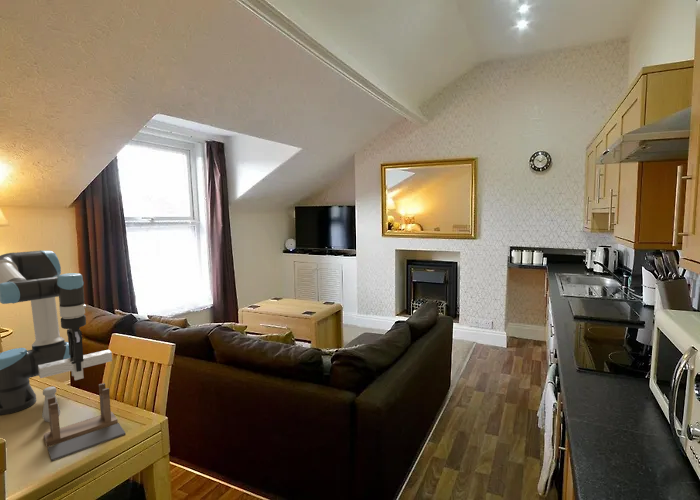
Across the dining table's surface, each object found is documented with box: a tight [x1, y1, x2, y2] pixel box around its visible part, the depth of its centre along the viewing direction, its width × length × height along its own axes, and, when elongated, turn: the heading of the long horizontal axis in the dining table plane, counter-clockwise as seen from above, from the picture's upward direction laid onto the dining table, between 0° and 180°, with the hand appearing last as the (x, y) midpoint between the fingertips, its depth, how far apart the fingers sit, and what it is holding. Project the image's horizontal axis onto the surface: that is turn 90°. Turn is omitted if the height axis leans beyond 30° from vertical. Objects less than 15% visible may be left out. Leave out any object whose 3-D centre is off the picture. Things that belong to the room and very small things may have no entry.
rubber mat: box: [47, 422, 127, 462], centre depth 140 cm, size 9×22×1 cm, turn 134°
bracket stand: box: [43, 382, 119, 448], centre depth 146 cm, size 8×22×14 cm, turn 134°
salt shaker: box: [41, 386, 61, 423], centre depth 154 cm, size 6×6×13 cm
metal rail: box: [38, 349, 113, 379], centre depth 144 cm, size 4×22×4 cm, turn 134°
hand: (77, 376), depth 145 cm, fingers closed on metal rail, 4 cm apart
